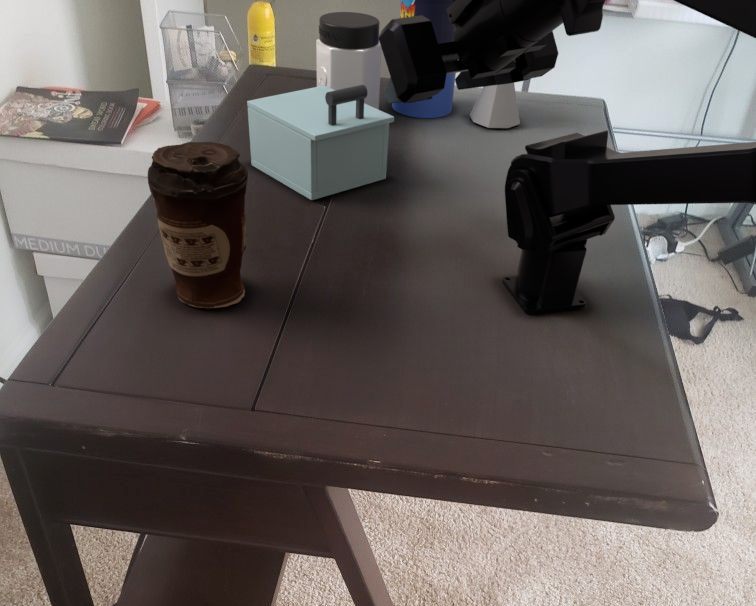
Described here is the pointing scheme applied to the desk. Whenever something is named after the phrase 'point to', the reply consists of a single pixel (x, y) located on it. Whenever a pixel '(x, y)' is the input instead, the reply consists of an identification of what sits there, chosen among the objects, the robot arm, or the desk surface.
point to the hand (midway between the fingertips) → (423, 90)
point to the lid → (322, 111)
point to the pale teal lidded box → (317, 157)
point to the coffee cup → (201, 219)
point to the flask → (496, 107)
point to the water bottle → (433, 6)
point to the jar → (349, 53)
